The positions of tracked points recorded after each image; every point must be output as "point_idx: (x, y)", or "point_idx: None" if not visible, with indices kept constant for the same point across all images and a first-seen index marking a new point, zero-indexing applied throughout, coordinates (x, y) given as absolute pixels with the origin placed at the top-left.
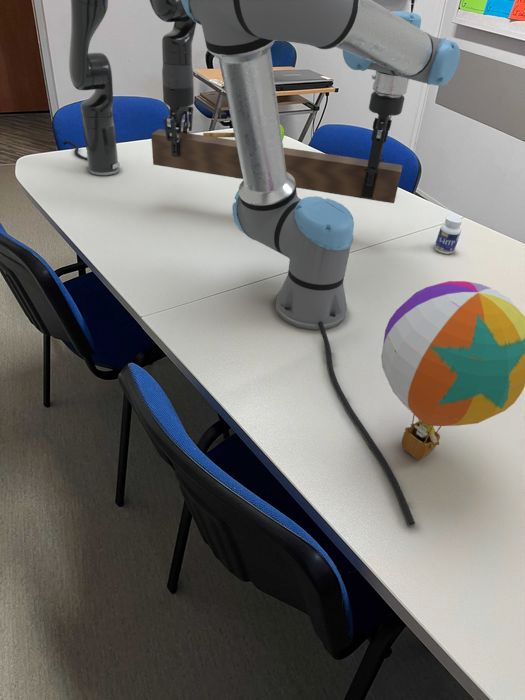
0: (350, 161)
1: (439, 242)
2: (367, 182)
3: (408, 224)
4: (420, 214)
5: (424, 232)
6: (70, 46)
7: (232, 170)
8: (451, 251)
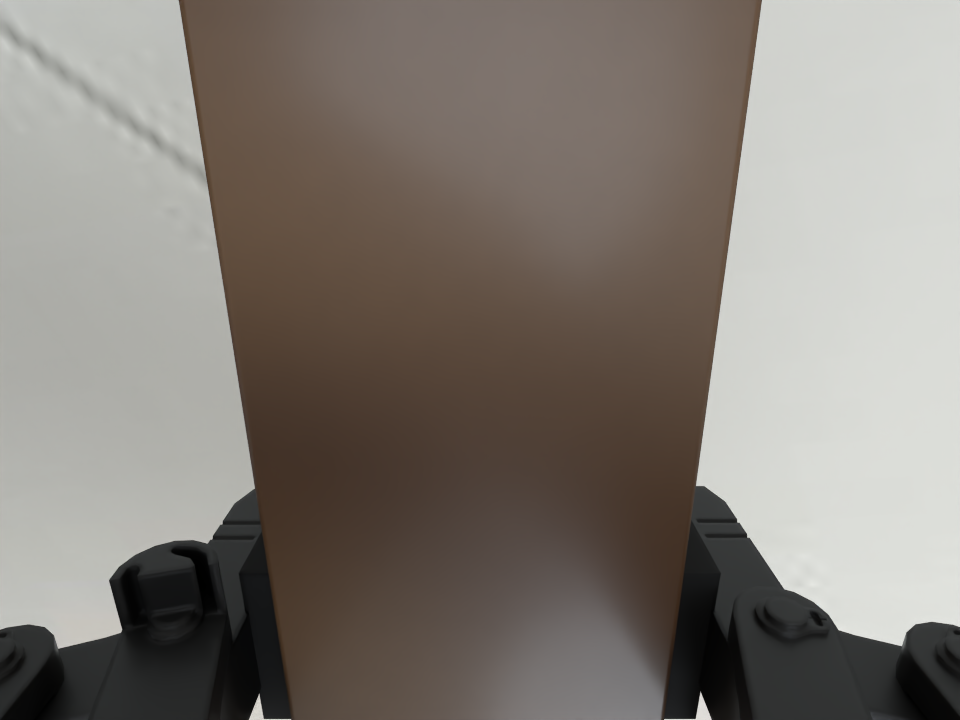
0: (406, 260)
1: None
2: (231, 521)
3: (808, 522)
4: (957, 569)
5: None
6: None
7: None
8: None
